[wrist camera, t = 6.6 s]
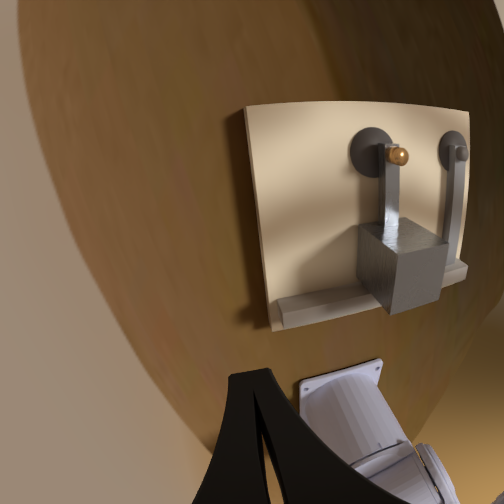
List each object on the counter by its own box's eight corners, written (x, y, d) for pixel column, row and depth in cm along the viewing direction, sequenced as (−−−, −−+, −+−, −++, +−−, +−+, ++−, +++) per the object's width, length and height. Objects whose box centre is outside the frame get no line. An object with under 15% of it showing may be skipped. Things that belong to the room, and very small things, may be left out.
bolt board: (445, 277, 22) (465, 292, 19) (268, 321, 21) (277, 347, 18) (457, 111, 16) (484, 113, 14) (243, 107, 15) (250, 104, 12)
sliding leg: (400, 266, 19) (438, 299, 15) (356, 277, 18) (389, 315, 14) (406, 142, 15) (456, 152, 11) (356, 143, 15) (402, 152, 11)
